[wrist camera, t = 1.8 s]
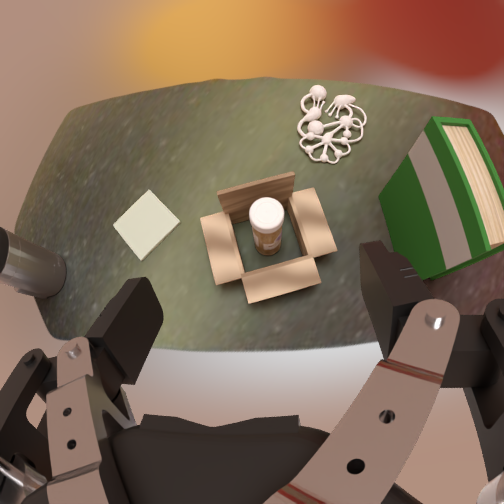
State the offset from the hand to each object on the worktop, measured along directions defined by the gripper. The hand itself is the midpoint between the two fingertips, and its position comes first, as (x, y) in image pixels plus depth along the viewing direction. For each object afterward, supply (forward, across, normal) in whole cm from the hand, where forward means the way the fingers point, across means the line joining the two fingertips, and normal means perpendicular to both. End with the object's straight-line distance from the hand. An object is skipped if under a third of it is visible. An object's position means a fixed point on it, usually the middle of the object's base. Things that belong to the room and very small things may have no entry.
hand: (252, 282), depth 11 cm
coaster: (+39, -26, -9) cm, 47 cm away
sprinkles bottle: (+37, -4, -16) cm, 40 cm away
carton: (+35, -4, -17) cm, 39 cm away
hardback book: (+38, +22, -20) cm, 48 cm away
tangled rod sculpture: (+55, +12, 0) cm, 56 cm away
